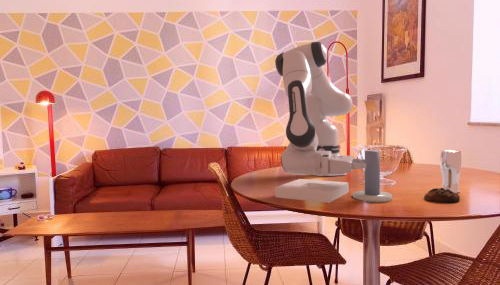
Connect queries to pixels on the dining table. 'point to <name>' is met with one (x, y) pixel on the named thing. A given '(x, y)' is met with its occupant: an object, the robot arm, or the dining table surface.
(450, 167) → the white tall piece
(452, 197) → the bread roll
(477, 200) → the dining table surface
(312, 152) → the robot arm
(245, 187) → the dining table surface
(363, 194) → the sage trivet
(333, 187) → the pocket block
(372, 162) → the slate peg
